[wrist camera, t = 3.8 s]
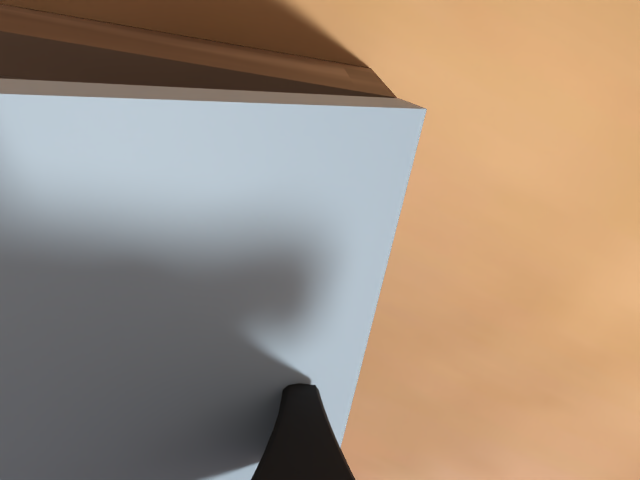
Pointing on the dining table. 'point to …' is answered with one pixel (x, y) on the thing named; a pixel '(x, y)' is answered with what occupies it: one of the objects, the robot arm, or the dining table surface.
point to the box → (162, 59)
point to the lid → (185, 269)
